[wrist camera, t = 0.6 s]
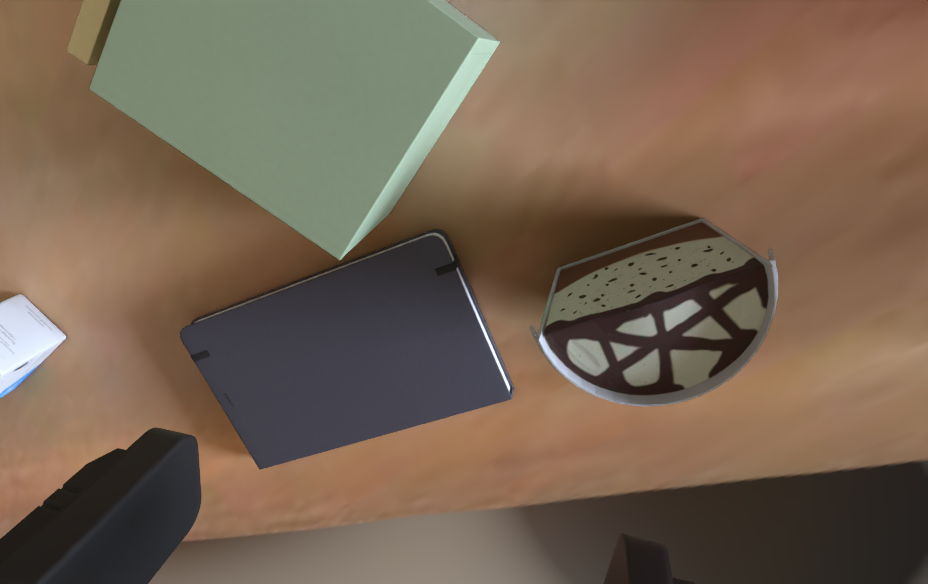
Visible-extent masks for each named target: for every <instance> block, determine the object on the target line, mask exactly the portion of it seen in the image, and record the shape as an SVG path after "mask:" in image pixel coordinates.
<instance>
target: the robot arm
mask: <svg viewBox="0 0 928 584" xmlns="http://www.w3.org/2000/svg"><path fill="white" fill-rule="evenodd" d="M200 504H201V484H200V469H199V454H198V443H197V440H196V438H195V437H194V436H192V435H188V434H183V433H179V432H174V431H170V430H165V429H161V428H152V429H150V430H148V431H147V432H145V433H144V434H143V435H142V436H141V437H140V438H139V439H138V440H137V441H135V442H134V443H133V444H132V445H131V446H130V447H129V448H128V449H127V450H123V449H119V448H117V449H115V450H114V451H112V452H110V453H108V454H106V455H104V456H102V457H100V458H98V459H96V460H94V461H92V462H90V463H88V464H86V465H85V466H84V467H83V468H82V469H81V470H79V471H78V472H77V473H76V474H75V475H74V476H73V477H71V478H70V479H69V480H68V481H67V482H66V483H64V484H63V488H62V489H58V490H56V491H55V492H54V493H53V494H52V495H51V496H50V497H48V498H47V499H46V500H45V501H44V503H43V505H42V506H41V507H40V506H38V507H37V508H36V509H35V510H33V511H32V512H31V513H30V514H29V515H28V516H26V517H25V518H24V519H23V520H22V521H21V522H20V523H18V524H17V525H16V526H15V527H14V528H13V529H11V530H10V531H9V532H8V533H7V534H6V535H5V536H3V537H2V538H1V539H0V584H148V583H149V582H150V580H151V579H152V578H153V576H154V575H155V574H156V573H157V571H158V570H159V569H160V568H161V566H162V565H163V564H164V563H165V561H166V560H167V559H168V557H169V556H170V555H171V553H172V552H173V551H174V550H175V548H176V547H177V546H178V545H179V543H180V542H181V541H182V540H183V538H184V537H185V536H186V535H187V533H188V532H189V531H190V529H191V528H192V526H193V524H194V522H195V520H196V518H197V515H198V512H199V509H200ZM604 584H694V583H693V582H689V581H684V580H680V579H676V578H672V573H671V567H670V562H669V557H668V551H667V548H666V545H665V544H664V543H662V542H657V541H653V540H648V539H644V538H639V537H635V536H631V535H626V534H621V535H620V536H619V538H618V540H617V543H616V546H615V549H614V553H613V556H612V559H611V562H610V565H609V569H608V572H607V575H606V578H605V582H604Z"/></svg>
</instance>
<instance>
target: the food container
mask: <svg viewBox="0 0 928 584" xmlns="http://www.w3.org/2000/svg"><path fill="white" fill-rule="evenodd" d="M768 252H769V258H770V260H766V259H765V258H763V257H762V256H760V255H759V254H757V253H756V252H754V251H753V250H751V249H750V248H748V247H747V246H745V245H744V244H742V243H741V242H739V241H738V240H736V239H735V238H733V237H732V236H730V235H729V234H727V233H726V232H724V231H723V230H721V229H720V228H718V227H717V226H715V225H714V224H712V223H711V222H709V221H708V220H706V219H705V218H701V219H698V220H695V221H692V222H689V223H686V224H684V225H681V226H678V227H675V228H672V229H669V230H666V231H663V232H660V233H657V234H655V235H652V236H649V237H646V238H643V239H640V240H637V241H634V242H631V243H628V244H626V245H623V246H620V247H617V248H614V249H611V250H608V251H605V252H602V253H599V254H597V255H594V256H591V257H588V258H585V259H582V260H579V261H576V262H573V263H570V264H568V265H565V266H562V267H559V268H557V270H556V274H555V277H554V281H553V284H552V288H551V291H550V294H549V298H548V301H547V305H546V308H545V312H544V315H543V318H542V322H541V325H540V329H539V332H538V333H536V332H535V330H534V328H533V326H530V329H531V332H532V334H533V337H534V339H535V341H536V342H537V344H538V346H539V348H540V350H541V351H542V353H543V354H544V355H545V357H546V358H547V359H548V361H549V362H550V364H552V365H553V366H554V367H555V368H556V369H557V370H558V371H559V372H560V373H561V374H562V375H563V376H564V377H565V378H567V379H568V380H569V381H571V382H572V383H574V384H575V385H576V386H578V387H579V388H581V389H583V390H585V391H586V392H588V393H590V394H592V395H594V396H597V397H600V398H602V399H605V400H608V401H611V402H615V403H620V404H625V405H633V406H662V405H669V404H674V403H679V402H684V401H687V400H690V399H693V398H696V397H699V396H701V395H703V394H705V393H707V392H709V391H711V390H713V389H715V388H717V387H719V386H720V385H722V384H723V383H725V382H726V381H728V380H729V379H731V378H732V377H733V376H734V375H735V374H737V373H738V372H739V371H740V370H741V369H742V368H743V367H744V366H745V365H746V364H747V363H748V362H749V361H750V359H751V358H752V357H753V356H754V354H755V353H756V352H757V351H758V349H759V347H760V346H761V344H762V342H763V340H764V339H765V337H766V335H767V333H768V330H769V327H770V325H771V322H772V319H773V316H774V313H775V308H776V303H777V298H778V274H777V268H776V262H775V258H774V255H773V252H772V249H769V250H768Z"/></svg>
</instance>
